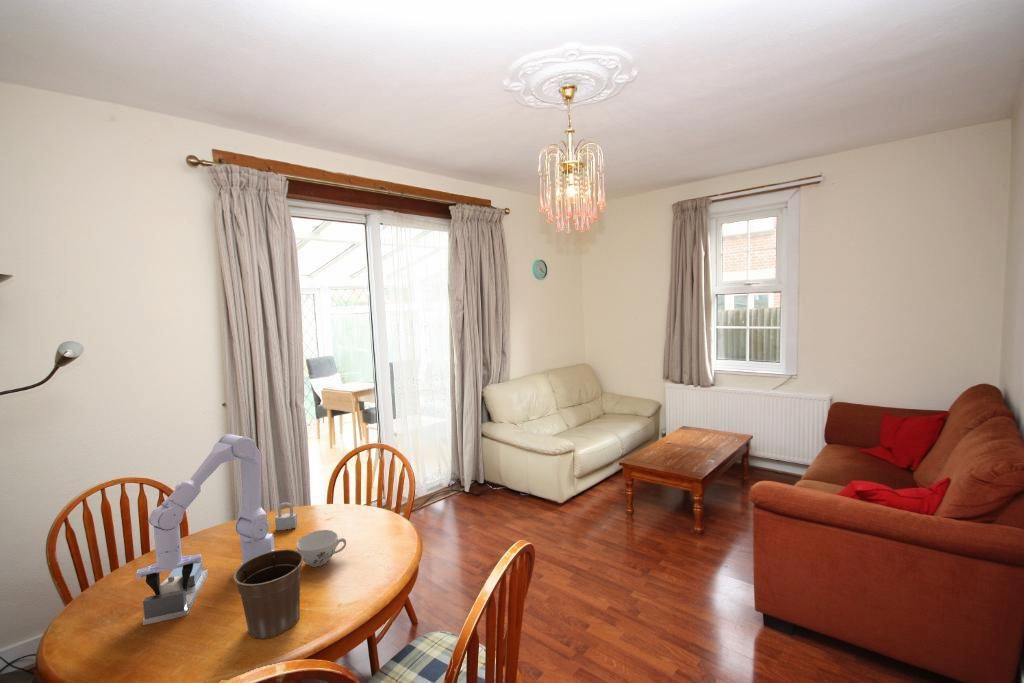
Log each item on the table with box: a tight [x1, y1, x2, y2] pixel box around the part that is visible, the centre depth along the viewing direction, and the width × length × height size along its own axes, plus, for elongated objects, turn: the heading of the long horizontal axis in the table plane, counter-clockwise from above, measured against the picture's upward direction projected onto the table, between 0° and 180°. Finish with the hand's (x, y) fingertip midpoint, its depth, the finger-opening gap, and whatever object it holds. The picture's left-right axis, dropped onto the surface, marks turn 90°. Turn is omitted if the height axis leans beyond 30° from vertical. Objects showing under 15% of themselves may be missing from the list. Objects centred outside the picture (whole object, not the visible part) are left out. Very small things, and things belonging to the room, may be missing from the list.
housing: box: [159, 576, 183, 594], centre depth 128 cm, size 4×4×6 cm
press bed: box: [142, 568, 209, 626], centre depth 132 cm, size 10×21×6 cm, turn 20°
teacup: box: [295, 529, 347, 568], centre depth 149 cm, size 15×12×8 cm
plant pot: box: [233, 548, 304, 640], centre depth 120 cm, size 16×16×16 cm
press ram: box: [167, 560, 204, 586], centre depth 138 cm, size 7×8×3 cm
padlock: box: [274, 502, 298, 531], centre depth 173 cm, size 7×4×10 cm, turn 99°
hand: (172, 593), depth 129 cm, fingers closed on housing, 5 cm apart
